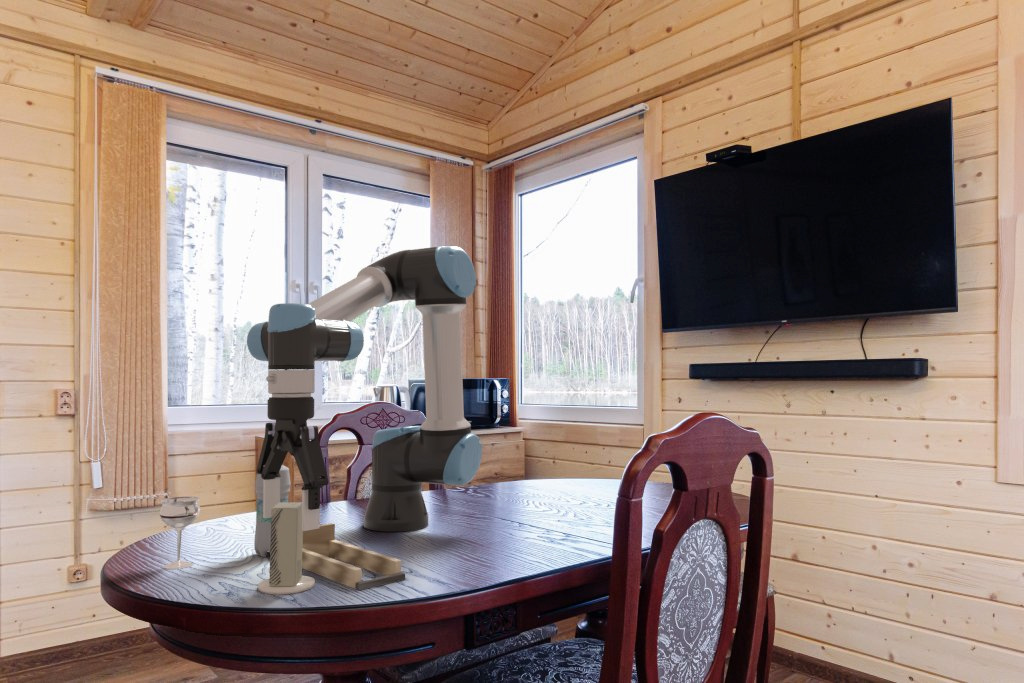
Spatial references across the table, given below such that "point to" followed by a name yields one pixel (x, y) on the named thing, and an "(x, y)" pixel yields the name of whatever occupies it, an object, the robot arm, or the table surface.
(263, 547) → the bottle
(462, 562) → the table surface
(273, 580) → the box
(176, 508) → the wineglass
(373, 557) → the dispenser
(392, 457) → the robot arm
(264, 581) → the coaster
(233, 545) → the table surface
